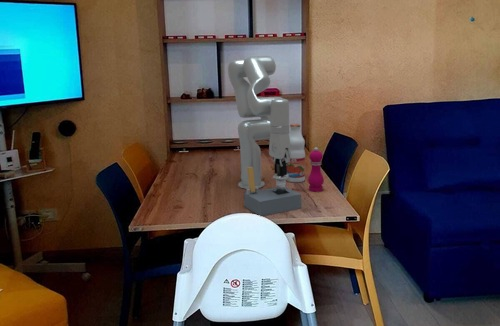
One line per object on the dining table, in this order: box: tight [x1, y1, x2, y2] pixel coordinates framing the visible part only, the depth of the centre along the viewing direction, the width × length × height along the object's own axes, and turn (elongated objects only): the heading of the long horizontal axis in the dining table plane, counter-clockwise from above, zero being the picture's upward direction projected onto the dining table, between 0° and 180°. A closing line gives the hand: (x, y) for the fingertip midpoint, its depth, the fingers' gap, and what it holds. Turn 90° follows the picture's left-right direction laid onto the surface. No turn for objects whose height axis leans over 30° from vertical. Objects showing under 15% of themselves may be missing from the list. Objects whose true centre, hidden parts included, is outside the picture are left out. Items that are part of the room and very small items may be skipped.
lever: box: [247, 167, 256, 193], centre depth 198 cm, size 11×2×2 cm
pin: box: [272, 163, 289, 193], centre depth 199 cm, size 6×6×12 cm
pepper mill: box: [307, 147, 325, 193], centre depth 220 cm, size 7×7×20 cm
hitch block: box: [243, 186, 302, 217], centre depth 199 cm, size 14×19×8 cm
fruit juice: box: [286, 123, 306, 183], centre depth 236 cm, size 9×9×28 cm
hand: (280, 173), depth 198 cm, fingers closed on pin, 3 cm apart
